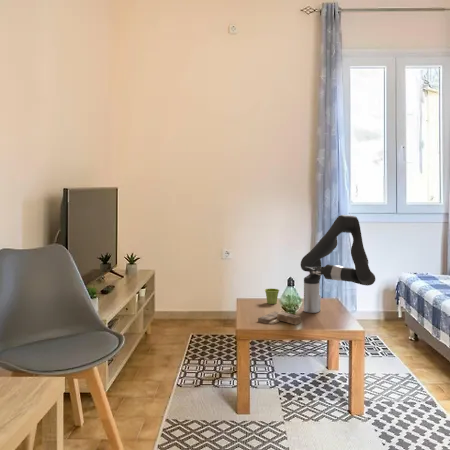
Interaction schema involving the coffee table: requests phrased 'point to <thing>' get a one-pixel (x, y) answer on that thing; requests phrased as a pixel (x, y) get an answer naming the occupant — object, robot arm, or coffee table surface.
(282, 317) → the plank
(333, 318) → the coffee table surface
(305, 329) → the coffee table surface
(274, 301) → the plant pot
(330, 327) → the coffee table surface
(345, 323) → the coffee table surface
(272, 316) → the floor board
